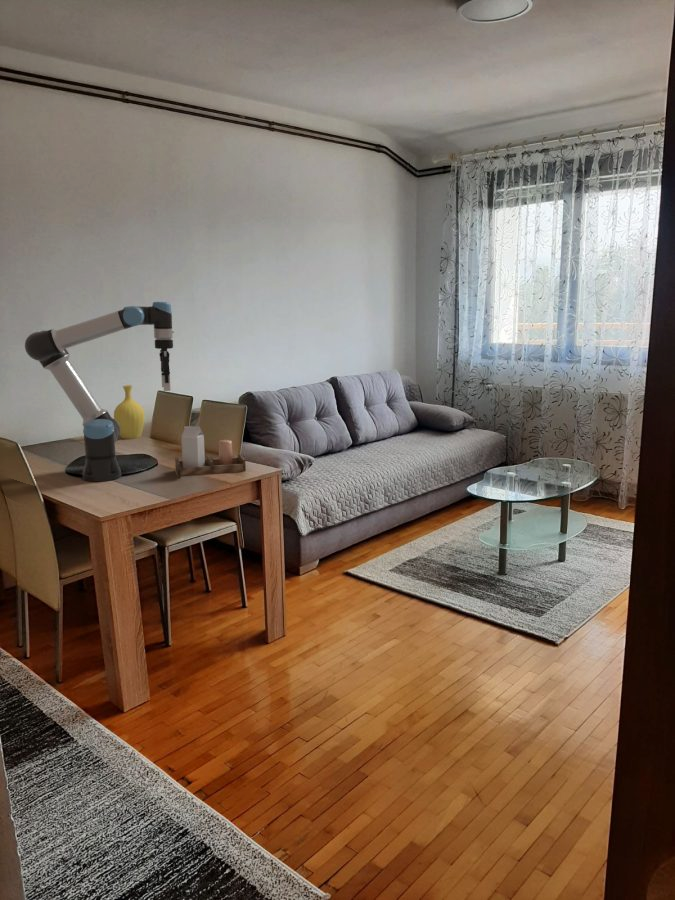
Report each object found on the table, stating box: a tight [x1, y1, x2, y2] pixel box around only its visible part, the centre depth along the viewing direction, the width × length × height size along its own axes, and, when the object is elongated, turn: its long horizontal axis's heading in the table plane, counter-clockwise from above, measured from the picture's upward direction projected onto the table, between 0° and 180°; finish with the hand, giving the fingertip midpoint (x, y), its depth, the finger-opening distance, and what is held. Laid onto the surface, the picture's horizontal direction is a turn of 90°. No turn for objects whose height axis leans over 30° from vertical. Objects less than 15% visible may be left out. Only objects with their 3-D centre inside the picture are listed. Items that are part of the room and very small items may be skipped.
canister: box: [218, 439, 233, 465], centre depth 284 cm, size 6×6×12 cm
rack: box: [174, 452, 247, 479], centre depth 283 cm, size 28×14×6 cm, turn 107°
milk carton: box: [180, 425, 206, 468], centre depth 279 cm, size 7×7×19 cm
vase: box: [113, 384, 146, 440], centre depth 358 cm, size 16×16×28 cm
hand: (166, 389), depth 284 cm, fingers open, 13 cm apart
